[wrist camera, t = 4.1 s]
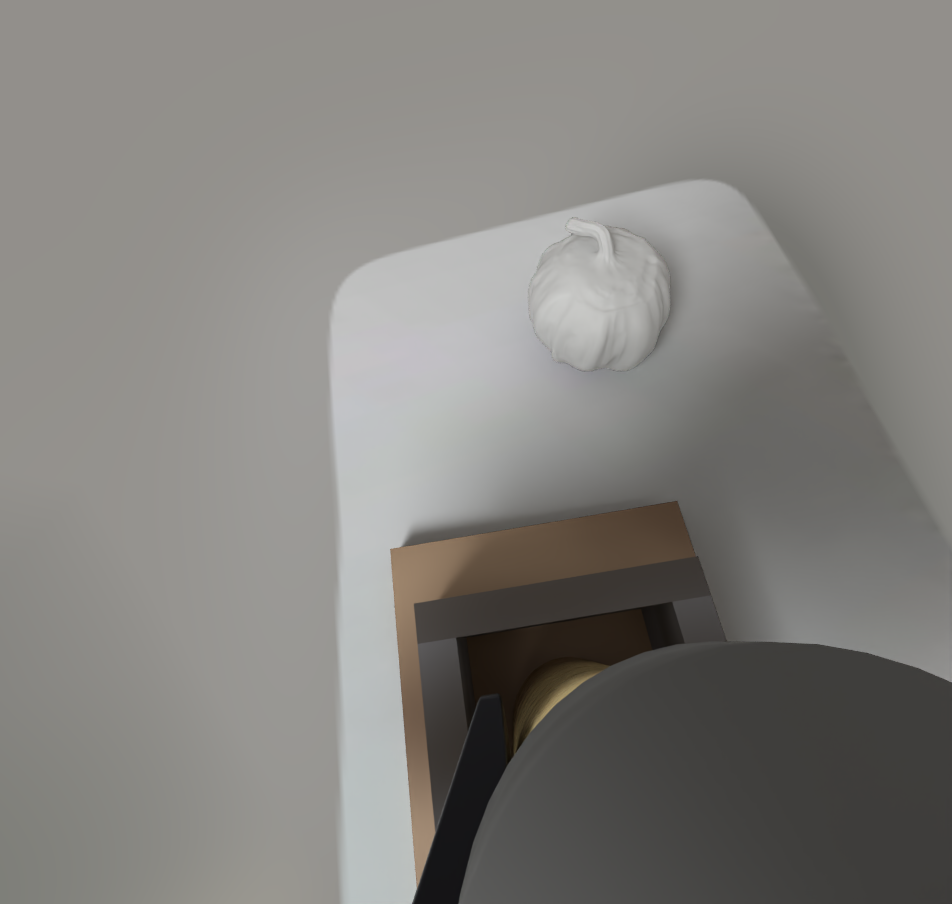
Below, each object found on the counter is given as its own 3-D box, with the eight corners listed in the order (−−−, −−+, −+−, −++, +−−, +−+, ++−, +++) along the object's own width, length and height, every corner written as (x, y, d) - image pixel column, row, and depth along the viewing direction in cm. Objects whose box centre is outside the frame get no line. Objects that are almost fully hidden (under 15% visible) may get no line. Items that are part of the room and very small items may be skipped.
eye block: (812, 948, 12) (949, 1089, 8) (434, 1009, 12) (401, 1176, 8) (667, 508, 16) (713, 471, 13) (397, 554, 17) (364, 529, 13)
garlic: (502, 305, 21) (500, 204, 16) (611, 268, 21) (641, 157, 16) (557, 414, 18) (574, 335, 13) (678, 369, 19) (736, 276, 14)
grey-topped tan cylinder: (677, 806, 12) (2135, 2279, 1) (511, 834, 12) (517, 2485, 1) (629, 628, 14) (1064, 589, 3) (484, 652, 14) (392, 700, 3)
